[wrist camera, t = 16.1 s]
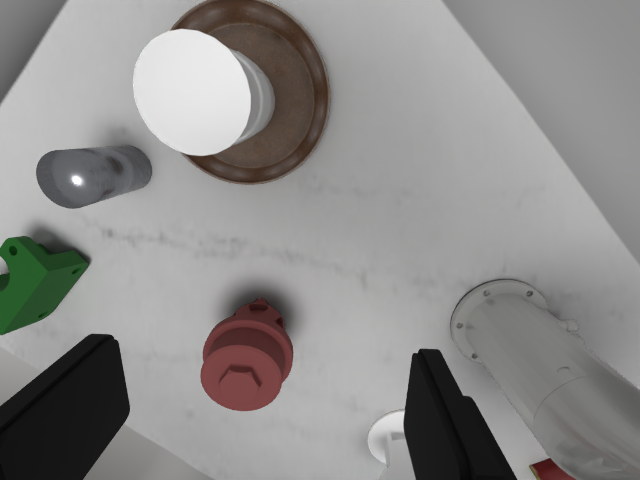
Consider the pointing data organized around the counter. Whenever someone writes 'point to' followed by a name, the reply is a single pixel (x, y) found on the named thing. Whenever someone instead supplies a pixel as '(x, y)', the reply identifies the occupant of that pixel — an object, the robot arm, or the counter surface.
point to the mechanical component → (247, 358)
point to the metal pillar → (92, 174)
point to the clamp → (34, 281)
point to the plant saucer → (286, 79)
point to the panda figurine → (391, 446)
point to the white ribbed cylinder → (200, 93)
